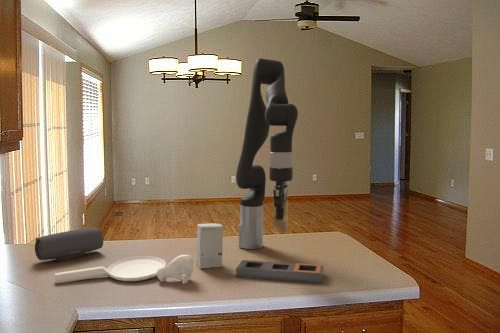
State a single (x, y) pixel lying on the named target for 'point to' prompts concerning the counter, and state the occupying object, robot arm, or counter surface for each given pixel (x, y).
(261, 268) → the graphite rail
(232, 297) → the counter surface
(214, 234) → the skincare box
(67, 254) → the bluetooth speaker
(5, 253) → the counter surface
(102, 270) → the frying pan
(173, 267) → the white animal figurine
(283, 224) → the oak peg
